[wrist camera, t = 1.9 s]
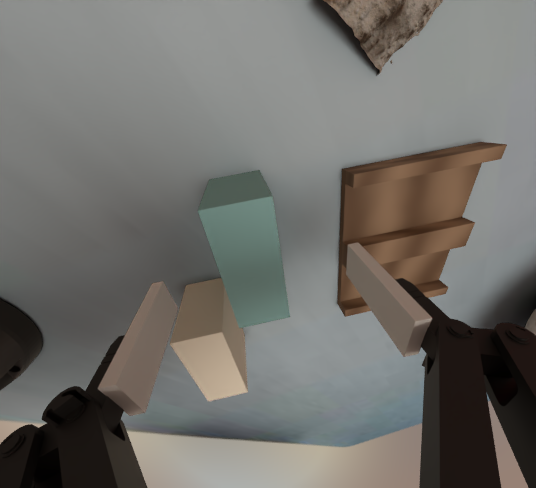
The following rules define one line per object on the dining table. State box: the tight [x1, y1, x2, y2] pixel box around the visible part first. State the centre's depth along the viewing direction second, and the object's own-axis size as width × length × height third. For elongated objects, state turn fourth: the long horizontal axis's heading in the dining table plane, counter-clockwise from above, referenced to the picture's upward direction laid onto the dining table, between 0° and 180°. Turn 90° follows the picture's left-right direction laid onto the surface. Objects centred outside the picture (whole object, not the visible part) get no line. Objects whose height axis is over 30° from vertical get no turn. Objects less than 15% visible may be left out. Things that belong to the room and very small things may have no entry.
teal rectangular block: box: [198, 170, 290, 328], centre depth 19 cm, size 11×4×8 cm, turn 9°
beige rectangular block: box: [170, 278, 248, 401], centre depth 24 cm, size 11×4×8 cm, turn 9°
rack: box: [338, 142, 507, 316], centre depth 24 cm, size 14×18×2 cm
